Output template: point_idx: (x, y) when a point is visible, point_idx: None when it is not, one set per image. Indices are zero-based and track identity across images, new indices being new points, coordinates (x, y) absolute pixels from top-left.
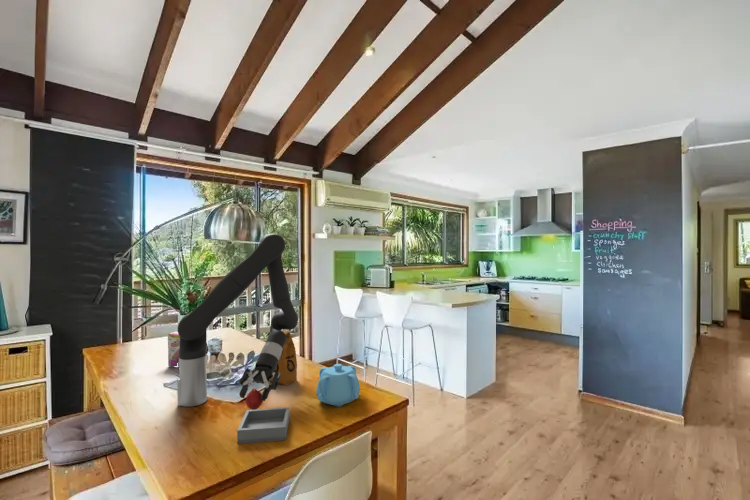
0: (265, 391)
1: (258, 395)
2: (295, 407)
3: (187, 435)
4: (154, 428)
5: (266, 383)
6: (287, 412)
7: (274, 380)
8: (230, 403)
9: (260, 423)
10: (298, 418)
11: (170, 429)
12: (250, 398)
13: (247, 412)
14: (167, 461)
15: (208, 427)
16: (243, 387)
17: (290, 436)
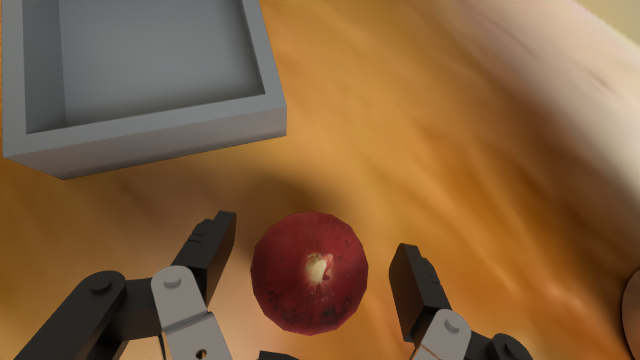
0: (198, 251)
1: (268, 249)
2: None
3: (455, 32)
4: (600, 74)
5: (182, 310)
6: (9, 85)
7: (44, 344)
8: None
9: (197, 90)
10: (8, 192)
11: (544, 69)
12: (317, 216)
13: (267, 79)
14: None
15: (422, 86)
16: (433, 294)
17: None
